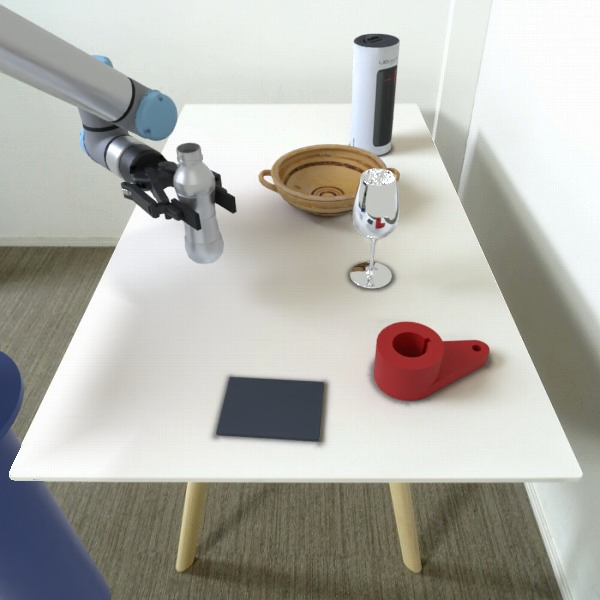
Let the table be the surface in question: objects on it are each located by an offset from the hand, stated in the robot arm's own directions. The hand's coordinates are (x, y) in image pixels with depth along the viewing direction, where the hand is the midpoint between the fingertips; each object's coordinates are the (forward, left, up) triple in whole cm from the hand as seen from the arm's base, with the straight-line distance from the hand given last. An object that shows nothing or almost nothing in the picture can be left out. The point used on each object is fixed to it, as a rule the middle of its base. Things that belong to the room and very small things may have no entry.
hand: (216, 213), depth 84 cm
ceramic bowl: (+15, +34, -18) cm, 41 cm away
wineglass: (+24, +9, -18) cm, 32 cm away
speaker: (+24, +61, -18) cm, 68 cm away
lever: (+33, -13, -18) cm, 40 cm away
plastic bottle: (-4, +3, -11) cm, 12 cm away
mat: (+10, -22, -18) cm, 30 cm away
